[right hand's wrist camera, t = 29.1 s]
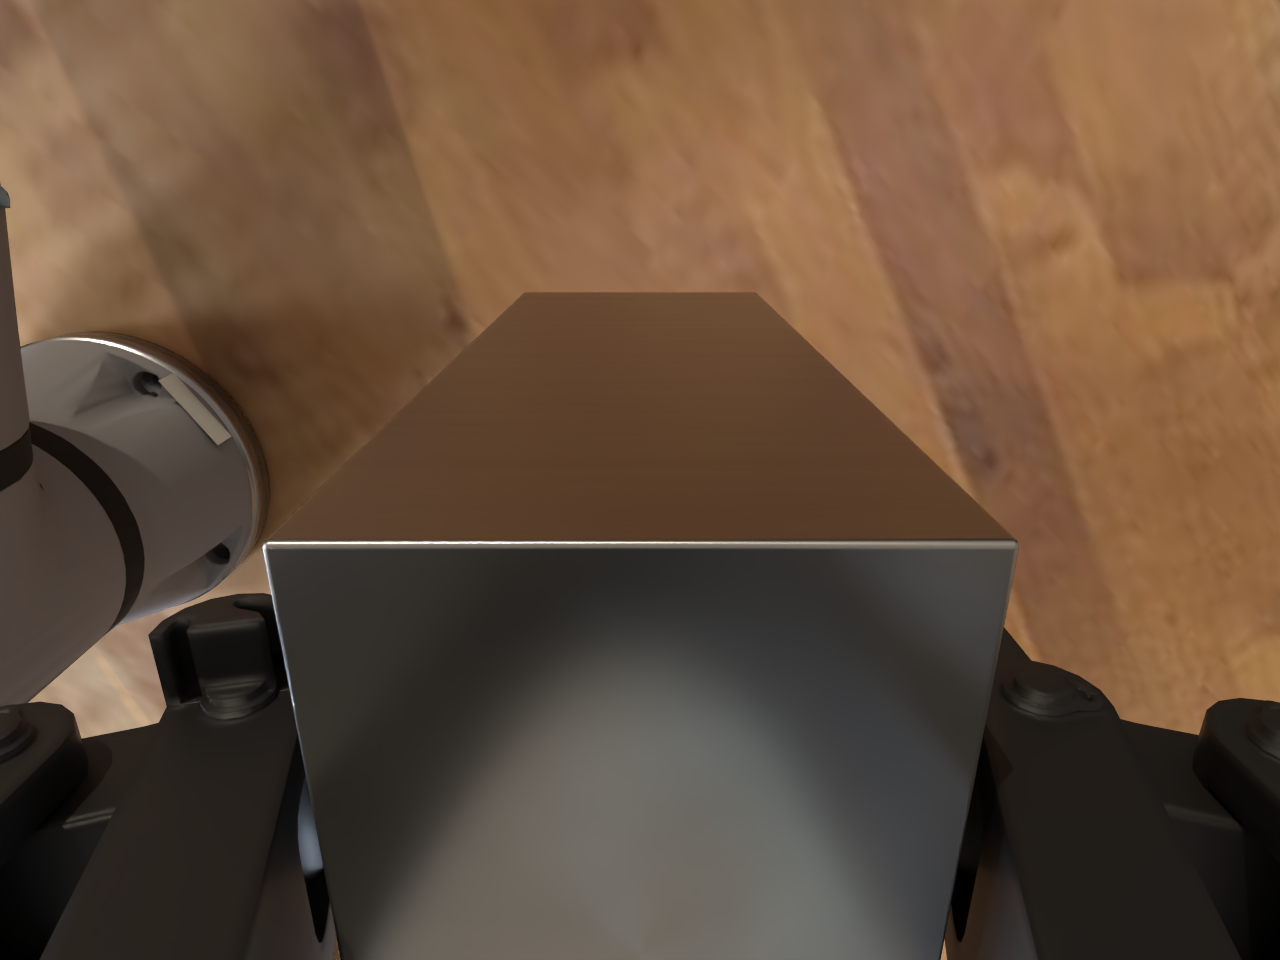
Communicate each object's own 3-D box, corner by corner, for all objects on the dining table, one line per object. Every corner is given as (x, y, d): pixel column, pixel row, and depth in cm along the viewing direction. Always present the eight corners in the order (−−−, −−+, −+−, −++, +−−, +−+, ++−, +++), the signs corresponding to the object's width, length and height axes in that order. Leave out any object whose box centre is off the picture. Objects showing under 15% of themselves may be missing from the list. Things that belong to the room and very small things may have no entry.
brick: (756, 291, 16) (1024, 540, 5) (741, 598, 19) (892, 1222, 7) (522, 292, 16) (256, 540, 5) (538, 598, 19) (389, 1221, 7)
